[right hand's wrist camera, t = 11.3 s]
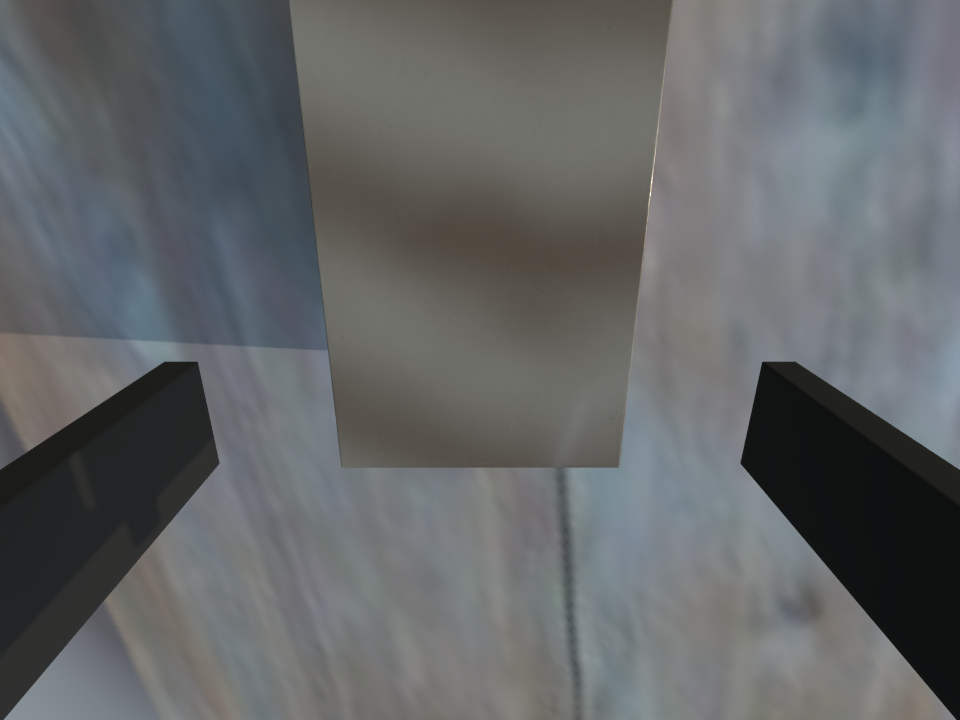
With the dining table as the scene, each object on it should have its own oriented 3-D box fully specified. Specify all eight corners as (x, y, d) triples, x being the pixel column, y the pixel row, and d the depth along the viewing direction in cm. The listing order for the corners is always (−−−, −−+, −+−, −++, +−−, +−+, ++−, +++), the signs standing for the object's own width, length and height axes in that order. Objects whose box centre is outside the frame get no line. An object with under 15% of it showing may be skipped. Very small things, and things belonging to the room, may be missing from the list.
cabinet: (366, -17, 23) (268, -167, 12) (594, -17, 23) (693, -166, 12) (391, 354, 29) (340, 468, 19) (569, 354, 29) (620, 468, 19)
